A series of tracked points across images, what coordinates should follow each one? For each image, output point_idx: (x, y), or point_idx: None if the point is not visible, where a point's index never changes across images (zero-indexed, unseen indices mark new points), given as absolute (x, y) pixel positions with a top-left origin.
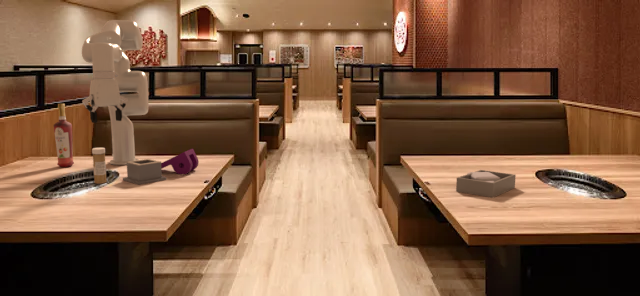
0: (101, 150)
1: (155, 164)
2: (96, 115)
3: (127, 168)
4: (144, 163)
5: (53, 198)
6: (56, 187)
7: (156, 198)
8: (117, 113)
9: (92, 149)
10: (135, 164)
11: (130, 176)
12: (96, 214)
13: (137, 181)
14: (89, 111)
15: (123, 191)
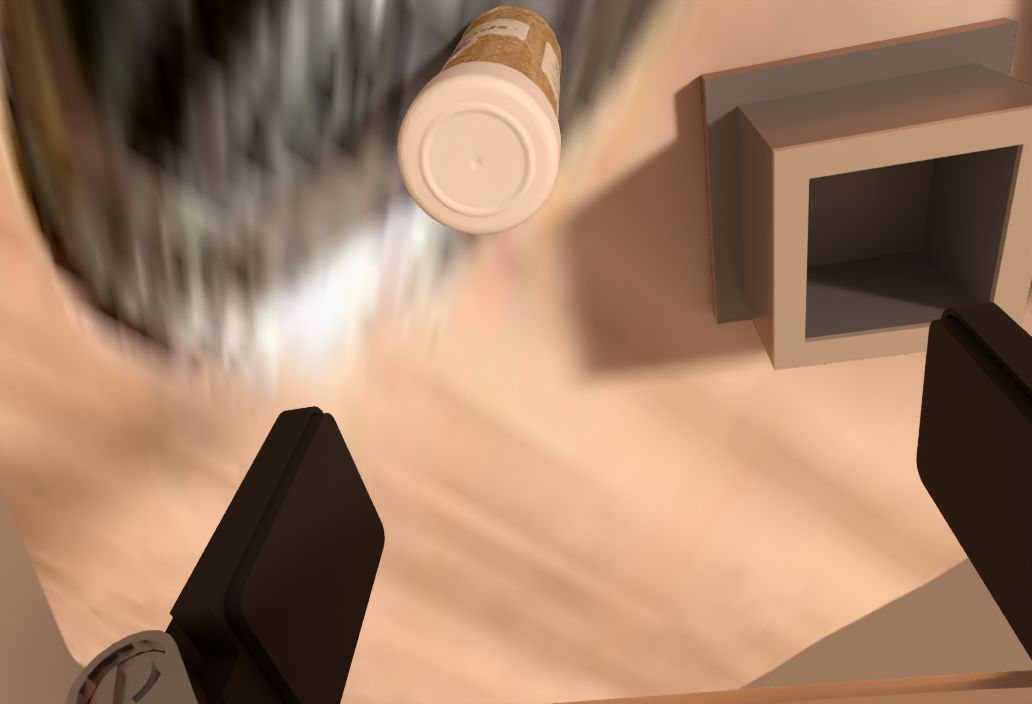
0: (498, 229)
1: None
2: (339, 671)
3: (757, 140)
4: (847, 339)
5: (176, 355)
6: (160, 24)
7: (634, 610)
8: (1025, 535)
9: (399, 166)
10: (772, 315)
11: (742, 167)
12: (354, 663)
13: (722, 301)
14: (126, 660)
15: (559, 421)
